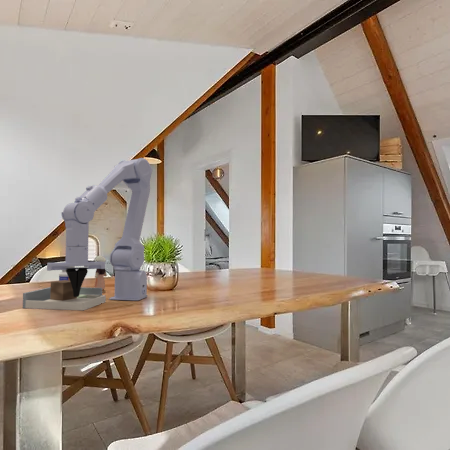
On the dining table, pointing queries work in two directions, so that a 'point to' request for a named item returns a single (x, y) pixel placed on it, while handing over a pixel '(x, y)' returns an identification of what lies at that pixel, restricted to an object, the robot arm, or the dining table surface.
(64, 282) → the walnut block
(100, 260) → the grandmother figurine
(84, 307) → the board
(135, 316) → the dining table surface
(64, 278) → the pill bottle
